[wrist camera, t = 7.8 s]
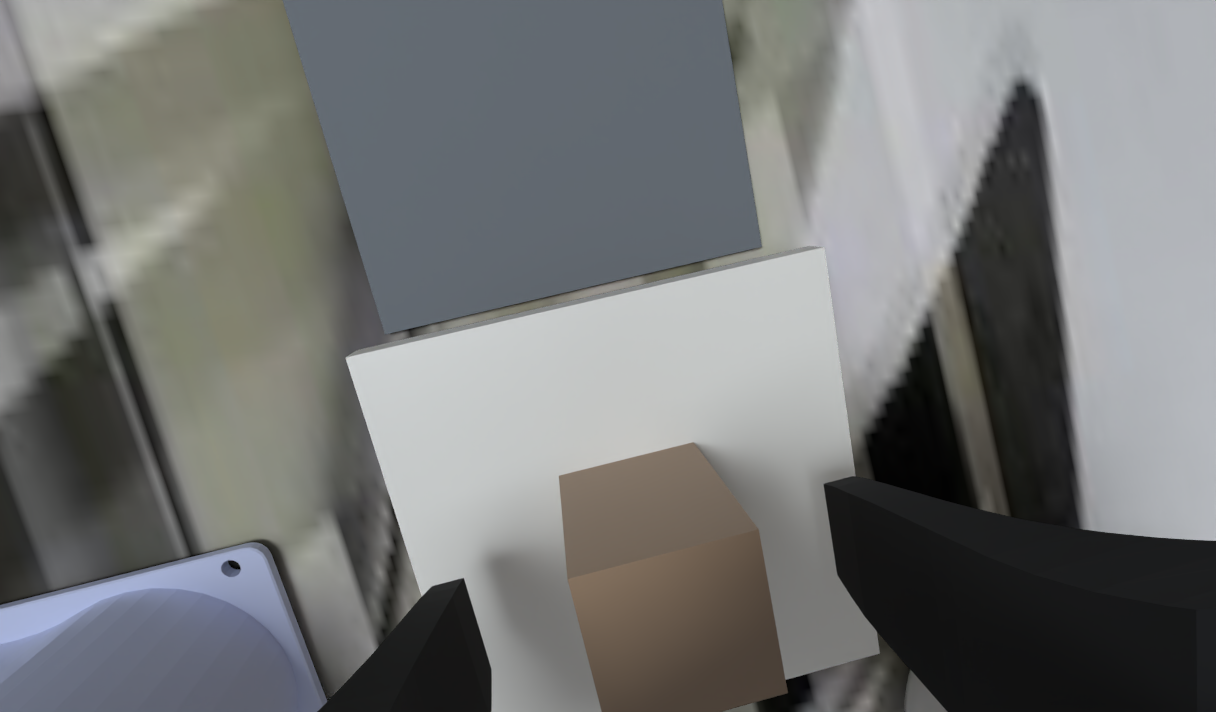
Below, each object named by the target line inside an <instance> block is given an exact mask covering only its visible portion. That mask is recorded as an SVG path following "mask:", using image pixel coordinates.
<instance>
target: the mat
mask: <svg viewBox="0 0 1216 712" xmlns="http://www.w3.org/2000/svg"><path fill="white" fill-rule="evenodd" d="M283 3H284V6H285V9H286V13H287V16H288V19H289V22H290V26H291V29H292V32H293V35H294V39H295V42H296V45H297V49H298V52H299V55H300V58H301V62H302V65H303V68H304V71H305V75H306V78H307V81H308V84H309V88H310V91H311V94H312V98H313V101H314V104H315V107H316V111H317V114H318V117H319V120H320V124H321V127H322V130H323V133H324V137H325V140H326V143H327V147H328V150H329V153H330V156H331V160H332V163H333V166H334V169H335V173H336V176H337V179H338V182H339V186H340V189H341V192H342V195H343V199H344V202H345V205H346V209H347V212H348V215H349V218H350V222H351V225H352V228H353V231H354V235H355V238H356V241H357V244H358V248H359V251H360V254H361V258H362V261H363V264H364V267H365V271H366V274H367V277H368V280H369V284H370V287H371V290H372V293H373V297H374V300H375V303H376V307H377V310H378V313H379V316H380V320H381V323H382V326H383V329H384V333H385V334H389V333H393V332H398V331H402V330H406V329H410V328H415V327H419V326H423V325H428V324H432V323H436V322H441V321H445V320H449V319H453V318H458V317H462V316H466V315H471V314H475V313H479V312H484V311H488V310H492V309H496V308H501V307H505V306H509V305H514V304H518V303H522V302H527V301H531V300H535V299H539V298H544V297H548V296H552V295H557V294H561V293H565V292H570V291H574V290H578V289H582V288H587V287H591V286H595V285H600V284H604V283H608V282H613V281H617V280H621V279H625V278H630V277H634V276H638V275H643V274H647V273H651V272H655V271H660V270H664V269H668V268H673V267H677V266H681V265H686V264H690V263H694V262H698V261H703V260H707V259H711V258H716V257H720V256H724V255H729V254H733V253H737V252H741V251H746V250H750V249H754V248H759V247H762V245H761V239H760V233H759V227H758V220H757V214H756V208H755V202H754V196H753V189H752V183H751V177H750V171H749V165H748V159H747V152H746V146H745V140H744V134H743V128H742V122H741V115H740V109H739V103H738V97H737V91H736V84H735V78H734V72H733V66H732V60H731V54H730V47H729V41H728V35H727V29H726V23H725V17H724V10H723V4H722V0H283Z"/></svg>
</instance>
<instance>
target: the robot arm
mask: <svg viewBox="0 0 1216 712" xmlns="http://www.w3.org/2000/svg"><path fill="white" fill-rule="evenodd" d="M823 485H824V492H825V498H826V505H827V511H828V518H829V524H830V531H831V537H832V544H833V550H834V557H835V564H836V570H837V575H838V577H839V578H840V580H841V582H842V583H843V585H844V586H845V588H846V589H847V591H848V593H849V594H850V596H851V597H852V599H853V600H854V602H855V603H856V605H857V606H858V607H859V609H860V610H861V612H862V613H863V615H864V616H865V618H866V619H867V620H868V621H869V622H870V624H871V625H872V626H873V627H874V628H875V630H876V631H877V632H878V633H879V634H880V635H881V637H882V638H883V639H884V640H885V641H886V642H887V643H888V645H889V646H890V647H891V648H892V649H893V650H894V652H895V653H896V654H897V655H898V656H899V657H900V658H901V660H902V661H903V662H904V663H905V664H906V665H907V666H908V667H909V669H910V670H911V671H912V672H913V673H914V674H915V675H916V677H917V678H918V679H919V680H920V681H921V682H922V683H923V685H924V686H925V687H926V688H927V689H928V690H929V691H930V693H931V694H932V695H933V696H934V697H935V698H936V699H937V701H938V702H939V703H940V704H941V705H942V706H943V707H944V708H945V710H946V711H947V712H1216V541H1203V540H1184V539H1168V538H1154V537H1144V536H1134V535H1124V534H1114V533H1105V532H1097V531H1089V530H1082V529H1075V528H1069V527H1063V526H1057V525H1051V524H1045V523H1039V522H1033V521H1028V520H1023V519H1018V518H1013V517H1009V516H1005V515H1000V514H996V513H992V512H987V511H983V510H979V509H975V508H971V507H967V506H963V505H959V504H955V503H952V502H948V501H944V500H941V499H937V498H934V497H930V496H927V495H923V494H920V493H916V492H913V491H909V490H906V489H902V488H899V487H895V486H892V485H888V484H885V483H881V482H878V481H874V480H870V479H866V478H861V477H855V476H851V477H847V478H843V479H840V480H836V481H832V482H828V483H824V484H823ZM228 560H233V561H236V562H238V564H239V565H240V567H241V569H234V568H231V566H230V565H229V564H228ZM491 710H492V669H491V666H490V662H489V659H488V656H487V652H486V649H485V646H484V643H483V639H482V636H481V633H480V629H479V626H478V623H477V620H476V616H475V613H474V610H473V606H472V603H471V600H470V597H469V593H468V590H467V587H466V583H465V580H464V578H461V579H457V580H454V581H450V582H446V583H442V584H438V585H434V586H432V587H431V588H430V589H429V590H428V591H427V592H426V593H425V594H424V595H423V596H422V597H421V598H420V599H419V601H418V602H417V603H416V604H415V605H414V606H413V608H412V609H411V610H410V611H409V612H408V613H407V615H406V616H405V617H404V618H403V619H402V621H401V622H400V623H399V624H398V625H397V626H396V628H395V629H394V630H393V631H392V632H391V633H390V634H389V636H388V637H387V638H386V639H385V640H384V641H383V643H382V644H381V645H380V646H379V647H378V648H377V650H376V651H375V652H374V653H373V654H372V655H371V656H370V657H369V658H368V660H367V661H366V662H365V663H364V664H363V665H362V666H361V667H360V668H359V669H358V670H357V671H356V672H355V673H354V674H353V675H352V677H351V678H350V679H349V680H348V681H347V682H346V683H345V684H344V685H343V686H342V687H341V688H340V689H339V690H338V691H337V692H336V694H335V695H334V696H333V697H332V698H331V699H330V700H329V701H328V702H327V699H326V697H325V694H324V691H323V689H322V686H321V684H320V681H319V678H318V676H317V673H316V670H315V668H314V665H313V662H312V660H311V657H310V654H309V652H308V649H307V647H306V644H305V641H304V639H303V636H302V633H301V631H300V628H299V625H298V623H297V620H296V618H295V615H294V612H293V610H292V607H291V604H290V602H289V599H288V596H287V594H286V591H285V589H284V586H283V583H282V581H281V578H280V575H279V573H278V570H277V567H276V565H275V562H274V559H273V557H272V554H271V552H270V551H269V549H268V548H267V547H266V546H264V545H263V544H260V543H256V542H251V543H245V544H241V545H237V546H233V547H229V548H225V549H221V550H217V551H213V552H209V553H205V554H201V555H197V556H193V557H189V558H185V559H181V560H178V561H174V562H170V563H166V564H162V565H158V566H154V567H150V568H146V569H142V570H138V571H134V572H130V573H126V574H122V575H118V576H114V577H110V578H106V579H102V580H98V581H94V582H90V583H86V584H82V585H78V586H74V587H70V588H66V589H62V590H58V591H54V592H50V593H46V594H42V595H38V596H34V597H30V598H26V599H22V600H18V601H14V602H10V603H6V604H2V605H0V712H491Z"/></svg>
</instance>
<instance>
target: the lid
mask: <svg viewBox="0 0 1216 712" xmlns="http://www.w3.org/2000/svg"><path fill="white" fill-rule="evenodd" d="M346 361H347V364H348V367H349V370H350V373H351V377H352V380H353V383H354V386H355V389H356V392H357V395H358V398H359V402H360V405H361V408H362V411H363V414H364V417H365V420H366V423H367V427H368V430H369V433H370V436H371V439H372V442H373V445H374V448H375V452H376V455H377V458H378V461H379V464H380V467H381V470H382V473H383V477H384V480H385V483H386V486H387V489H388V492H389V495H390V498H391V502H392V505H393V508H394V511H395V514H396V517H397V520H398V523H399V527H400V530H401V533H402V536H403V539H404V542H405V545H406V548H407V552H408V555H409V558H410V561H411V564H412V567H413V570H414V573H415V577H416V580H417V583H418V586H419V589H420V592H421V595H422V596H423V595H424V594H425V593H426V592H427V591H428V590H429V589H430V588H431V587H432V586H434V585H438V584H442V583H446V582H450V581H454V580H457V579H461V578H464V580H465V583H466V587H467V590H468V593H469V597H470V600H471V603H472V606H473V610H474V613H475V616H476V620H477V623H478V626H479V629H480V633H481V636H482V639H483V643H484V646H485V649H486V652H487V656H488V659H489V662H490V666H491V669H492V710H491V712H722V711H725V710H729V709H732V708H736V707H739V706H743V705H747V704H750V703H754V702H757V701H761V700H764V699H768V698H772V697H775V696H779V695H782V694H786V693H788V691H787V686H786V680H787V679H790V678H794V677H798V676H801V675H805V674H808V673H812V672H816V671H819V670H823V669H826V668H830V667H833V666H837V665H841V664H844V663H848V662H851V661H855V660H859V659H862V658H866V657H869V656H873V655H876V654H880V651H879V644H878V637H877V631H876V630H875V628H874V627H873V626H872V625H871V624H870V622H869V621H868V620H867V619H866V618H865V616H864V615H863V613H862V612H861V610H860V609H859V607H858V606H857V605H856V603H855V602H854V600H853V599H852V597H851V596H850V594H849V593H848V591H847V589H846V588H845V586H844V585H843V583H842V582H841V580H840V578H839V577H838V575H837V570H836V564H835V557H834V550H833V544H832V537H831V531H830V524H829V518H828V511H827V505H826V498H825V492H824V485H823V484H824V483H828V482H832V481H836V480H840V479H843V478H847V477H851V476H855V477H856V475H855V468H854V460H853V453H852V446H851V438H850V431H849V424H848V416H847V409H846V402H845V394H844V387H843V380H842V372H841V365H840V358H839V350H838V343H837V336H836V328H835V321H834V314H833V306H832V299H831V292H830V284H829V277H828V270H827V262H826V255H825V248H824V247H811V246H807V247H803V248H798V249H794V250H790V251H785V252H781V253H777V254H772V255H768V256H764V257H759V258H755V259H751V260H746V261H742V262H738V263H733V264H729V265H725V266H720V267H716V268H712V269H707V270H703V271H699V272H694V273H690V274H686V275H681V276H677V277H673V278H668V279H664V280H660V281H655V282H651V283H647V284H642V285H638V286H633V287H629V288H625V289H620V290H616V291H612V292H607V293H603V294H599V295H594V296H590V297H586V298H581V299H577V300H573V301H568V302H564V303H560V304H555V305H551V306H547V307H542V308H538V309H534V310H529V311H525V312H521V313H516V314H512V315H508V316H503V317H499V318H495V319H490V320H486V321H482V322H477V323H473V324H468V325H464V326H460V327H455V328H451V329H447V330H442V331H438V332H434V333H429V334H425V335H421V336H416V337H412V338H408V339H403V340H399V341H395V342H390V343H386V344H382V345H377V346H373V347H369V348H364V349H360V350H357V351H355V352H353V353H352V354H350V355H349V356H347V357H346Z"/></svg>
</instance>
